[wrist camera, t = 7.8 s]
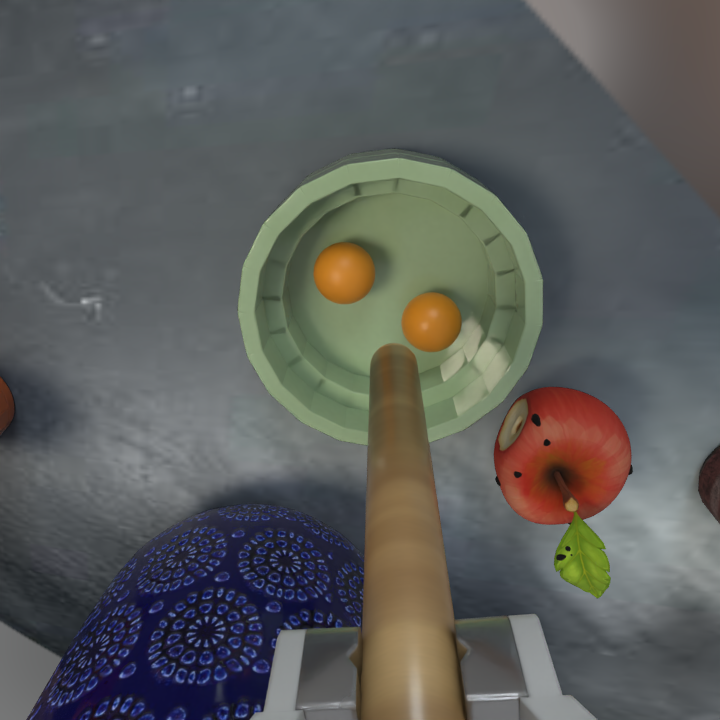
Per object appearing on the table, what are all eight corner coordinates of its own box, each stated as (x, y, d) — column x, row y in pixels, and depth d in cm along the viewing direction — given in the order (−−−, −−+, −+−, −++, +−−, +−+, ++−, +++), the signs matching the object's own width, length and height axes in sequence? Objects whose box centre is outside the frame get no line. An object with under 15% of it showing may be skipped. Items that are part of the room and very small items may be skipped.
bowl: (234, 167, 29) (208, 181, 24) (516, 131, 28) (544, 139, 23) (283, 410, 35) (268, 459, 30) (520, 387, 34) (542, 434, 29)
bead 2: (397, 288, 31) (399, 307, 28) (456, 281, 31) (463, 300, 28) (402, 341, 32) (405, 364, 29) (459, 335, 32) (467, 358, 29)
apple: (457, 396, 34) (488, 508, 25) (570, 338, 32) (646, 436, 23) (516, 491, 36) (564, 624, 27) (623, 442, 35) (710, 567, 26)
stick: (367, 338, 23) (338, 1039, 6) (414, 333, 23) (518, 1036, 6) (373, 379, 24) (359, 1112, 7) (417, 375, 24) (521, 1110, 7)
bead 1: (312, 239, 30) (305, 254, 27) (371, 232, 30) (371, 246, 27) (321, 296, 31) (315, 316, 28) (378, 289, 31) (378, 309, 28)
